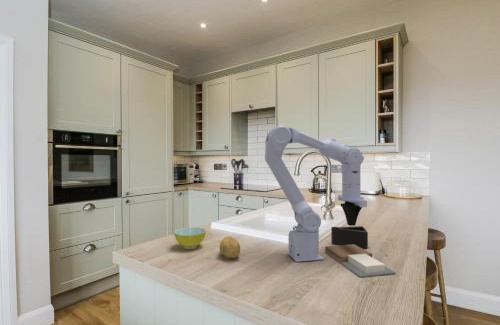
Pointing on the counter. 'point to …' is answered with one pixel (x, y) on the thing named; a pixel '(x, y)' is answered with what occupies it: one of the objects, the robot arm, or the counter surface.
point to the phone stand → (350, 236)
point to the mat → (362, 274)
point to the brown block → (344, 252)
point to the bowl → (190, 236)
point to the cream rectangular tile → (366, 263)
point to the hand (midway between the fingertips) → (351, 225)
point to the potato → (229, 247)
